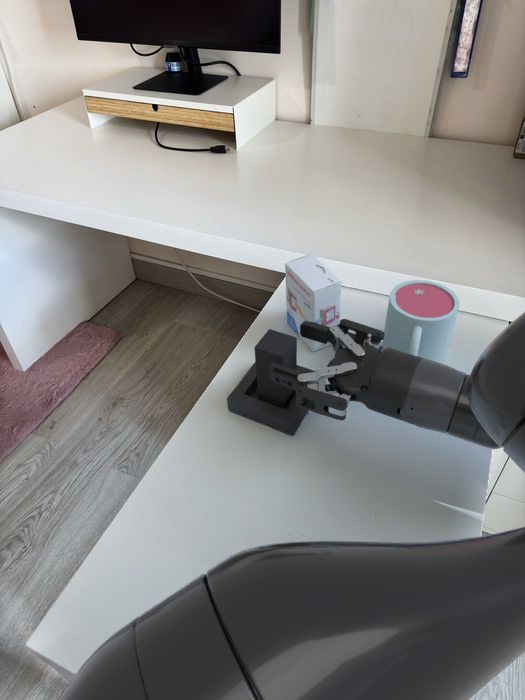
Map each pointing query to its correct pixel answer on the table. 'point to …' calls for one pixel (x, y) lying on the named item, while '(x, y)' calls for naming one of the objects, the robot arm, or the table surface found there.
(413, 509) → the table surface
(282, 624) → the robot arm
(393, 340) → the mug
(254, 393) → the base pad
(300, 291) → the ink box
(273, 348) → the block
